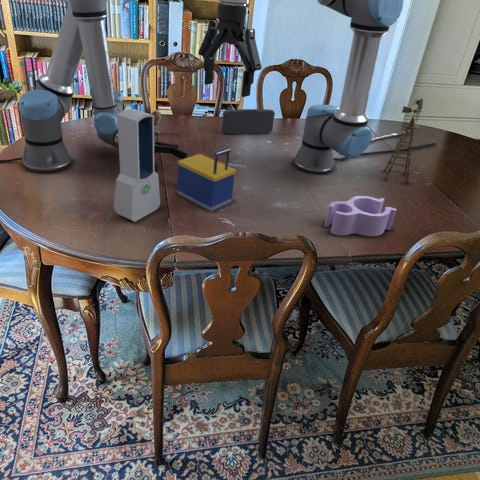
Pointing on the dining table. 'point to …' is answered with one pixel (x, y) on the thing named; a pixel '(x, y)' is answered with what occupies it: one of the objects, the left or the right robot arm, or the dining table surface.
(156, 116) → the lion figurine
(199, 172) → the lid
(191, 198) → the chest
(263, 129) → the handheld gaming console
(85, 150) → the dining table surface
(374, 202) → the clip
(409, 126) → the miniature windmill
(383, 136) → the sword
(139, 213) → the electronic device
